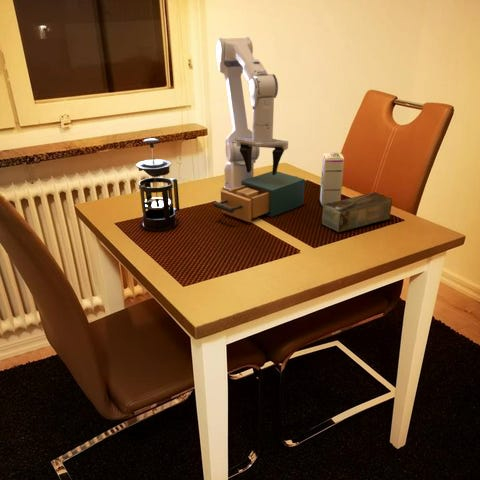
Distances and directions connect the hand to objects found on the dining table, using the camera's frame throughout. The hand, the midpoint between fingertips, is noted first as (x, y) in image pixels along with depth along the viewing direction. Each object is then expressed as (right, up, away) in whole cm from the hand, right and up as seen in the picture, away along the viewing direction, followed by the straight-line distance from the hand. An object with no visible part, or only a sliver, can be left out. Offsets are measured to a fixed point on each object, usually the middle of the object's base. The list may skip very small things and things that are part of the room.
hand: (261, 172), depth 143 cm
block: (-4, -11, -1) cm, 12 cm away
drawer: (-5, -12, -1) cm, 13 cm away
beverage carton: (+26, -15, -5) cm, 31 cm away
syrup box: (+21, -7, +8) cm, 24 cm away
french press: (-28, -16, -5) cm, 33 cm away
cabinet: (+3, -8, +7) cm, 11 cm away
